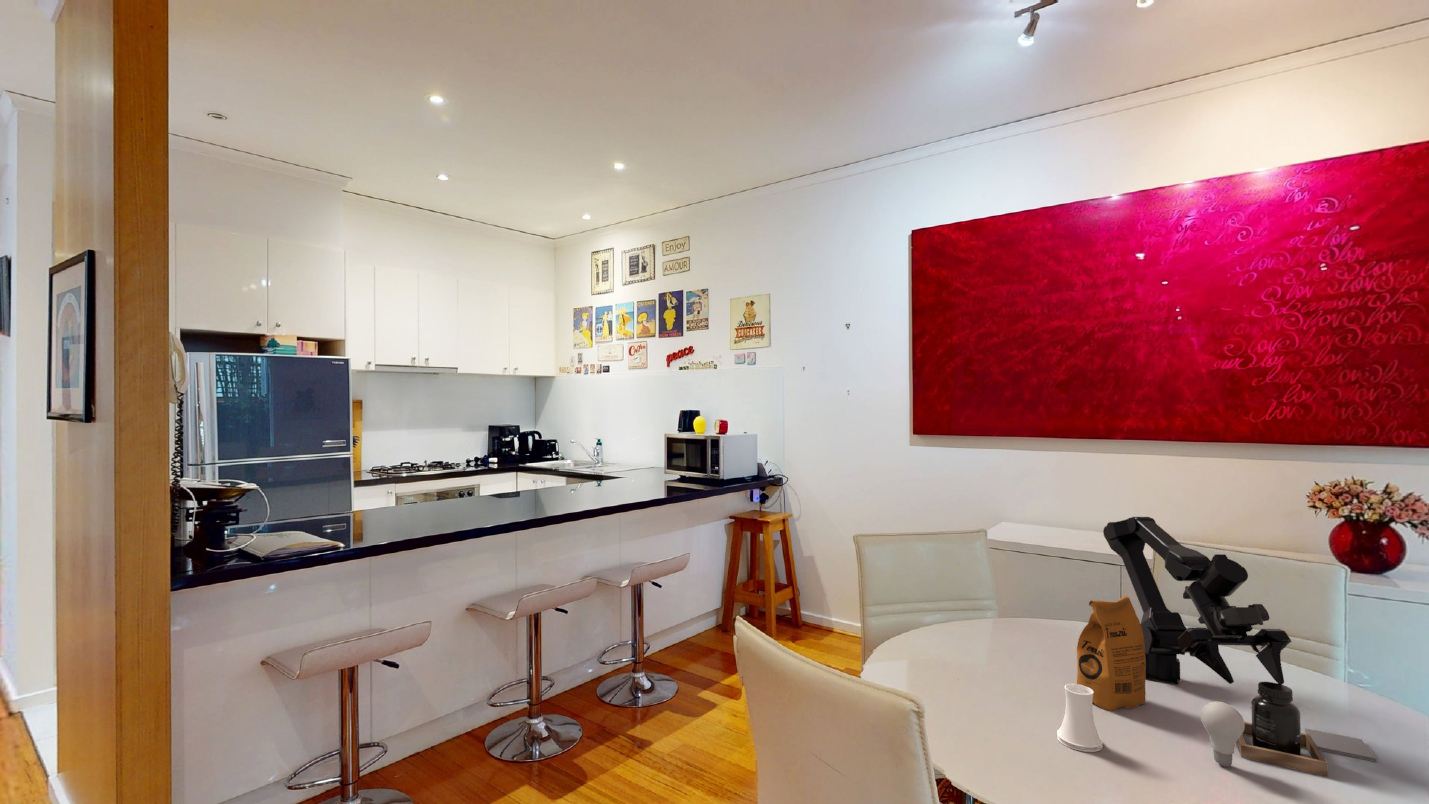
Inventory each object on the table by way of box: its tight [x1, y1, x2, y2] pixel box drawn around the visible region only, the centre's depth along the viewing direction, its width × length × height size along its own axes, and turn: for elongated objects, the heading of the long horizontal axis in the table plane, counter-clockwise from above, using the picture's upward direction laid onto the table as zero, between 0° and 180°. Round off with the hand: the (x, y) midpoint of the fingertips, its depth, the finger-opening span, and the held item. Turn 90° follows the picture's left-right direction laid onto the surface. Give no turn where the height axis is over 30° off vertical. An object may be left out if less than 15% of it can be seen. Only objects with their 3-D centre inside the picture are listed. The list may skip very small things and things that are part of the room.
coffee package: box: [1076, 595, 1147, 712], centre depth 139 cm, size 10×12×22 cm
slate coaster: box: [1304, 727, 1377, 762], centre depth 120 cm, size 8×8×1 cm
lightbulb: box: [1200, 701, 1245, 767], centre depth 113 cm, size 6×6×11 cm
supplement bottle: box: [1251, 681, 1302, 756], centre depth 118 cm, size 7×7×12 cm
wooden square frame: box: [1235, 721, 1329, 777], centre depth 118 cm, size 12×12×2 cm
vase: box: [1056, 683, 1104, 753], centre depth 121 cm, size 8×8×10 cm
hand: (1256, 683), depth 122 cm, fingers open, 9 cm apart
